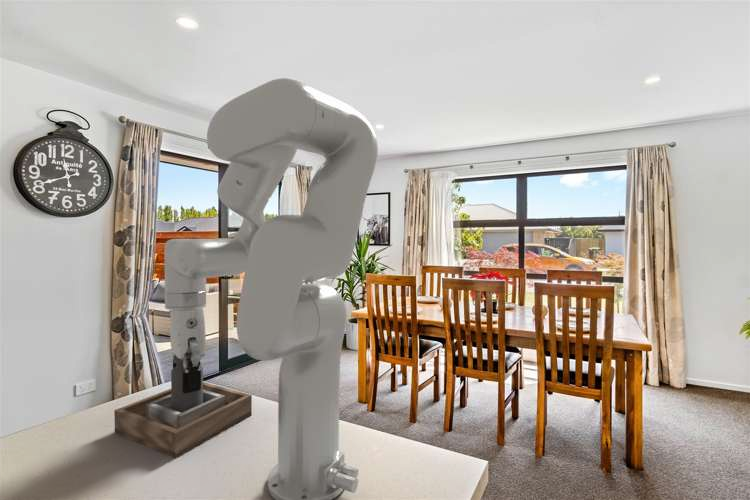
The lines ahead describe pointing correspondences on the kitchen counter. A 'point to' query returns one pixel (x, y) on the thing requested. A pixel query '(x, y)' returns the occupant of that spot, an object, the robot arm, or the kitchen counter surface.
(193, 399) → the bottle
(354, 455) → the kitchen counter surface
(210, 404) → the walled box
